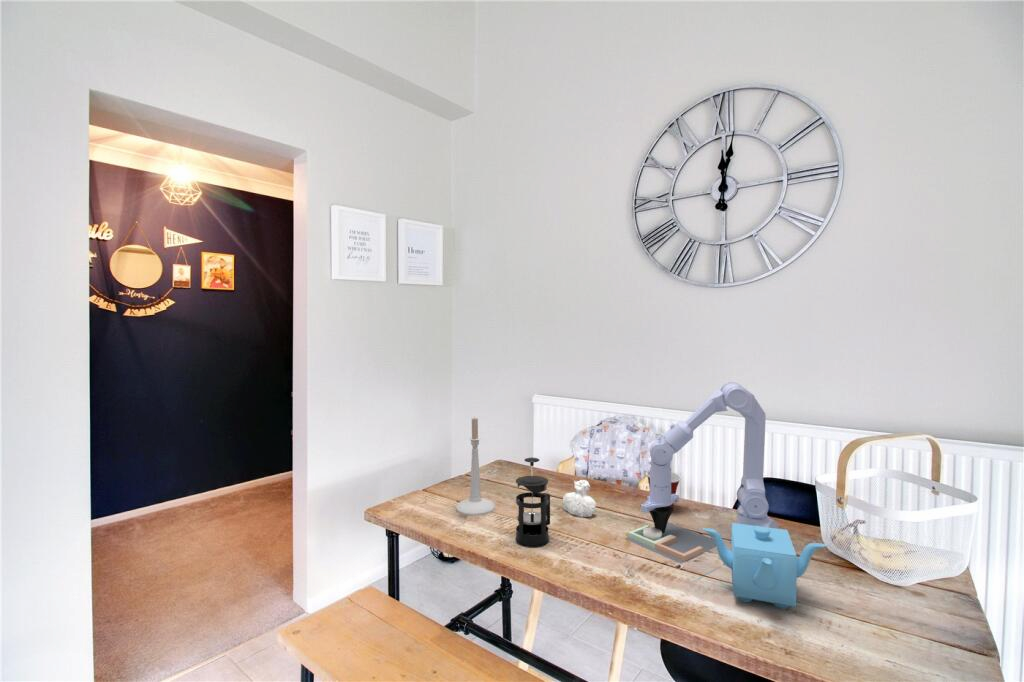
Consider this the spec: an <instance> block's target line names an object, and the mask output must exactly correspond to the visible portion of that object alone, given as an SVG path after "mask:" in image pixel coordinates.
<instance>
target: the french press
mask: <svg viewBox="0 0 1024 682" xmlns="http://www.w3.org/2000/svg"><path fill="white" fill-rule="evenodd" d="M524 462H526V463H530V464H529V465H530V467H531V468H530V470H531V471H530V473H531V475H524V476H520V477H517V478H516V479H515V483H516V484H517V488H519V487H520V486H521V487H522V486H523V487H524V488H526V489H527V490H528V492H523V493H519V494H518V495H516V497H515V503H516V505H517V506H518V515H517V518H516V519H517V522H518V525H516V528H515V530H516V531H515V543H516V544H517V545H519V546H521V547H524V548H531V549H532V548H533V549H534V548H540V547H543V546H546V545H547V544H549V542H550V537H549V525H550V524H551V494H550V493H547V492H545V491H547V487H548V486H547V484H548V483H549V479H548V478H547V477H545V476H541V475H534V474H533V473H534V470H533V468H534V464H535V463H537V462H540V459H539V458H538V457H527V458H524ZM525 498H531V503H529V502H525ZM534 498H538V499H539V498H540V502H536V503H534V501H533V499H534ZM525 509H531V511H526V512H525ZM534 509H540V512H538V511H534Z"/></svg>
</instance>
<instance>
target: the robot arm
mask: <svg viewBox="0 0 1024 682" xmlns="http://www.w3.org/2000/svg"><path fill="white" fill-rule="evenodd" d="M727 407H728V408H730V409H732V410H733V411H735V412H738V413H739V414H740V415H741V416H742V417H743V418H744V441H743V443H744V444H743V464H742V465H743V469H742V477H741V480H740V485H739V488H738V489H737V491H736V498H737V500H738V502H739V503H740V505H739V506H738V507H737V512H736V513H737V516H736V517H737V518H736V523H737V524H745V525H753V526H761V527H768V528H776V529H779V526H778V525H779V524H778V522H777V521H776V520H775V519H773V518H770V517H769V515H768V512H769V502H768V500H767V498H766V488H765V484H764V468H765V466H764V464H765V446H766V445H765V444H766V443H765V441H766V419H767V416H766V412H765V410H764V409H763V408H762V406H761V405H760V403H759V402H758V399H756V396H755V395H754V394H753V393H752V392H750V391H749V390H748V389H747V388H745V387H743V385H741V384H739V383H737V382H732V381H730V382H726V383H724V384H723V385H722V387H720V389H717V390H715V391H714V392H712V394H711V395H709V397H708V398H706V400H705V401H704V402H703V403H702V404H700V406H699V407H698V408H697V409H696V410H695V411H694V412H693V413H692V414H691V415H690V416H688V418H687V419H686V420H685V421H677V422H676V423H672V424H670V425H669V429H668V430H667V431H666V432H665V433H664V434H663V435H662V436H661V435H660V436H658V437H657V440H656V441H654V442H652V443H651V445H650V448H649V455H650V459H651V460H650V467H649V470H650V488H649V495H648V496H647V497H646V499H647V500H646V501H645V502H644V503H641V505H640V512H641V513H644V514H649V513H650V516H651V518H652V520H653V521H652V522H653V525H654V527H655V528H657V529H660V530H661V531H662V534H663V533H665V529H666V526H667V522H669V519H670V517H671V515H672V513H673V512H674V506H673V507H670V505H671V504H672V503H673V502H674V503H679V502H680V495H679V494H677V493H676V494H671V472H672V467H671V462H672V461H673V455H674V454H676V453H678V452H679V451H680V450H681V449H682V448H683V447H685V446H686V445H687V444H688V443H689V442H690V441H691V440H692V439H693V438H694V431H695V430H696V429H697V428H698V427H700V426H701V425H702V424H703V423H705V422H706V421H707V420H708V419H709V418H711V417H712V416H713V415H714V414H715V413H720V412H728V408H727ZM730 544H731V545H732V541H730Z"/></svg>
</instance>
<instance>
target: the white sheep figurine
mask: <svg viewBox="0 0 1024 682" xmlns="http://www.w3.org/2000/svg"><path fill="white" fill-rule="evenodd" d="M573 483H574V484H573V485H574V488H573V489H575V491H574V492H573V491H572V492H567V493H565V494H564V495H563V497H562V506H563V509H564V511H566V512H568V513H569V514H570V515H574V516H578V517H579V518H584V517H586V518H590V517H592V515H593V513H594V511H595V509H596V508H597V503H596V501H595V499H593V498H592V497H591V496H590V495H588V493H587V492H589V491H590V488H591V485H590V483H589V481H588V480H586V479H580V480H578V481H576V480H574V481H573Z"/></svg>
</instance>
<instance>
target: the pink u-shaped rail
mask: <svg viewBox="0 0 1024 682" xmlns="http://www.w3.org/2000/svg"><path fill="white" fill-rule="evenodd" d="M675 542H676V537H675V536H671V537H669V538H667V539H664V540H662V541H660V542H657V543H655V549H657V550H659V551H661V552H663V553H666V554H668V555H670V556H673V557H675V558H677V559H680V560H682V561H684V562H683V563H685V562H687V561H689V560H691V559H694V558H696V557H698V556H700V555H701V553H702V554H703V547H701V546H698V547H696V548H694V549H692V550H690V551H688V552H686V553H681V552H678V551H676V550H674V549H671V548H669V547H667V546H668V545H671V544H673V543H675ZM699 554H700V555H699Z"/></svg>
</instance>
